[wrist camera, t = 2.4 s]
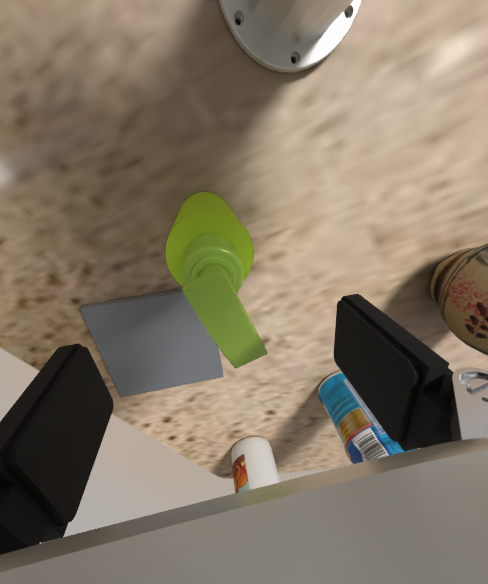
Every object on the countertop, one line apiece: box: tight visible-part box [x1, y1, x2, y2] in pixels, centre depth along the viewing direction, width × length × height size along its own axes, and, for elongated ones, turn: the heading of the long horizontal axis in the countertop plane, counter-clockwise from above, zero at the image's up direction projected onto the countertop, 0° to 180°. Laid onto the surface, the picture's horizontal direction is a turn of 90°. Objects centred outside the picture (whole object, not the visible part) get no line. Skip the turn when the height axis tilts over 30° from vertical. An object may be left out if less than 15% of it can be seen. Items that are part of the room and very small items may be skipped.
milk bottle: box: [231, 436, 280, 493], centre depth 40 cm, size 8×8×20 cm
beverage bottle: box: [318, 371, 416, 464], centre depth 36 cm, size 8×8×20 cm
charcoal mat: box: [79, 289, 223, 397], centre depth 34 cm, size 15×15×1 cm
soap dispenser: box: [165, 192, 267, 368], centre depth 20 cm, size 6×7×20 cm
